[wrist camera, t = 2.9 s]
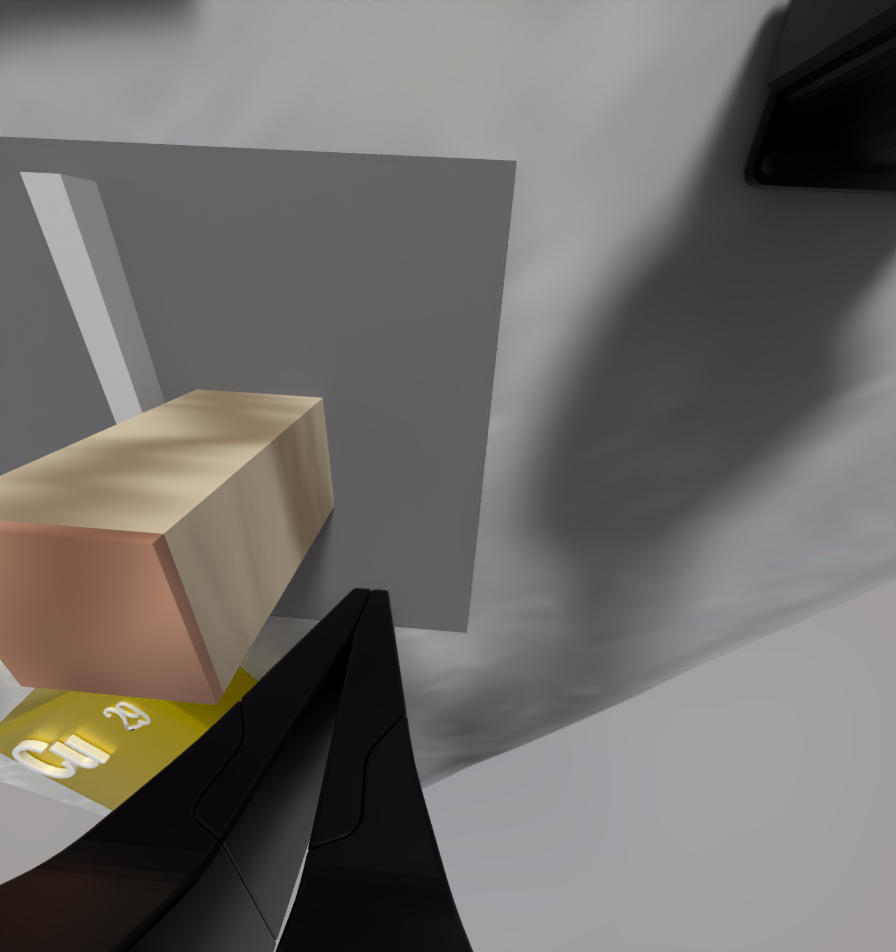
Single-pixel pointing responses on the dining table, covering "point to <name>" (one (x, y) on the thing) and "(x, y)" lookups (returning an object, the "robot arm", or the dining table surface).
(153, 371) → the mat
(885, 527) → the dining table surface
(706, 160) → the dining table surface
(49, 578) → the beech block
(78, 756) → the element tile
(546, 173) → the dining table surface
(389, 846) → the robot arm
